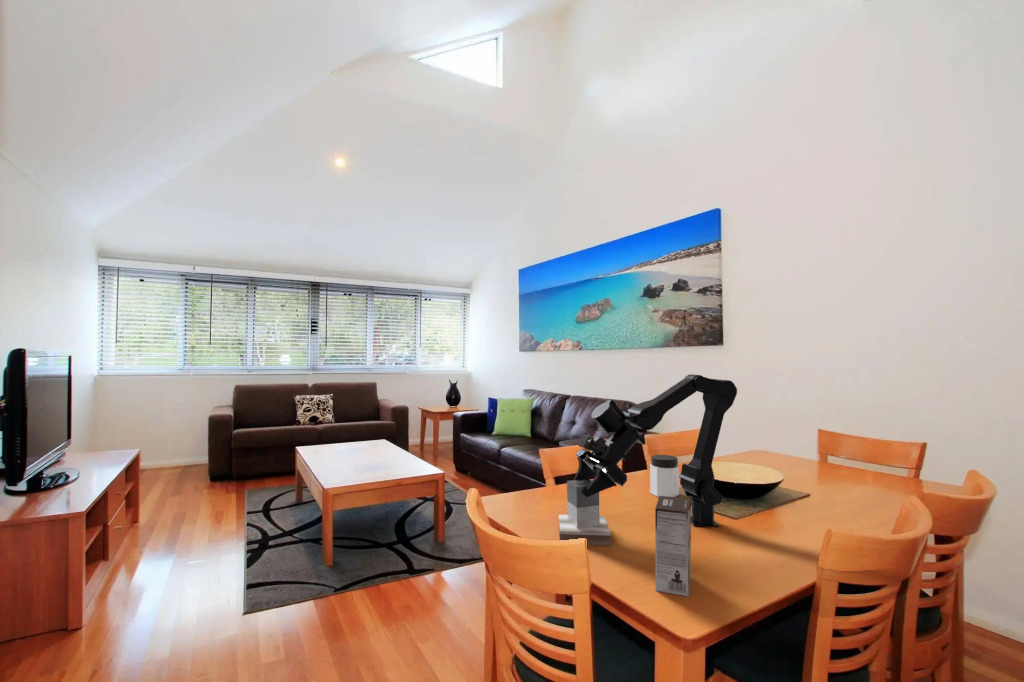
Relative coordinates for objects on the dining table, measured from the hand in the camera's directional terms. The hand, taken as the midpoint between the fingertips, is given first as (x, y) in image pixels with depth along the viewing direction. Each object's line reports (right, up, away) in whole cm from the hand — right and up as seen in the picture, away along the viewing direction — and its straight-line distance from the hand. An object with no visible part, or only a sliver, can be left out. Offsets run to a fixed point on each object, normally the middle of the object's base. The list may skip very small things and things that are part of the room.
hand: (578, 491), depth 121 cm
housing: (+1, -8, 0) cm, 8 cm away
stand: (+1, -11, 0) cm, 11 cm away
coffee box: (+15, -11, -25) cm, 31 cm away
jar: (+33, -12, +36) cm, 50 cm away
